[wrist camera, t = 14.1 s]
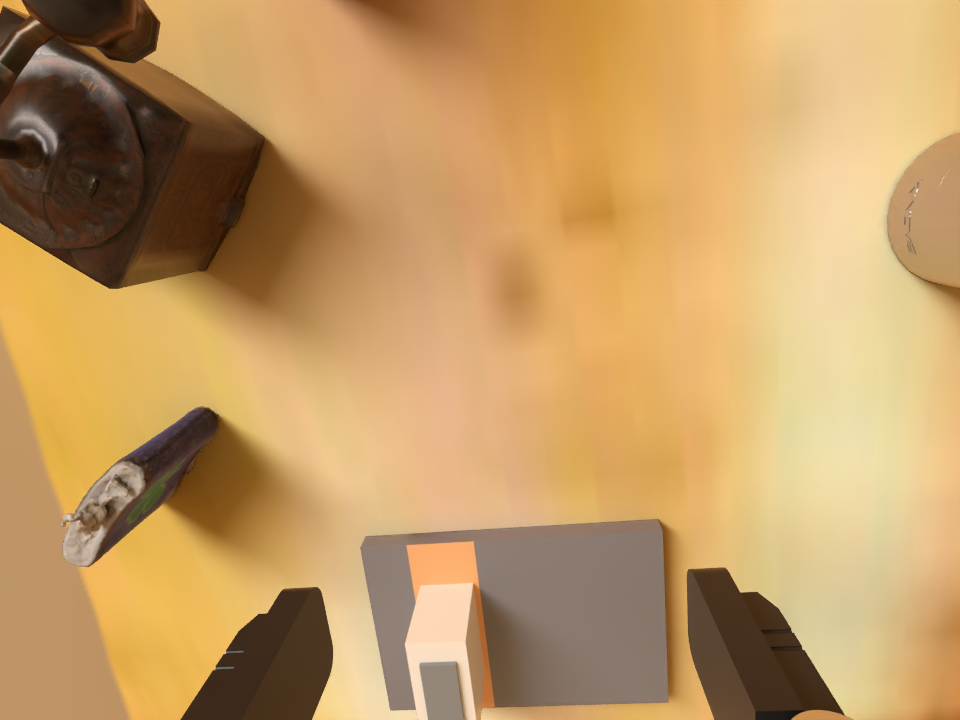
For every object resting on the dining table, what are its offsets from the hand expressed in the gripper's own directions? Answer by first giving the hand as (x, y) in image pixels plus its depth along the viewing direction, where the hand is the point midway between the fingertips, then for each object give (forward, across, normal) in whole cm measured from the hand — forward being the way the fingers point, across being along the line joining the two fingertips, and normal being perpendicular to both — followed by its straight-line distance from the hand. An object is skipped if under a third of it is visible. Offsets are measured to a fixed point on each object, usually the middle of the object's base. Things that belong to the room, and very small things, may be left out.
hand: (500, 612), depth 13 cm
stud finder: (+27, +7, +22) cm, 36 cm away
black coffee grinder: (+28, +20, -15) cm, 38 cm away
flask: (+28, +26, +7) cm, 39 cm away
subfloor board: (+28, +2, +22) cm, 36 cm away
